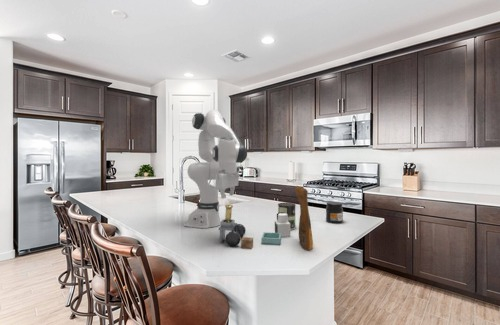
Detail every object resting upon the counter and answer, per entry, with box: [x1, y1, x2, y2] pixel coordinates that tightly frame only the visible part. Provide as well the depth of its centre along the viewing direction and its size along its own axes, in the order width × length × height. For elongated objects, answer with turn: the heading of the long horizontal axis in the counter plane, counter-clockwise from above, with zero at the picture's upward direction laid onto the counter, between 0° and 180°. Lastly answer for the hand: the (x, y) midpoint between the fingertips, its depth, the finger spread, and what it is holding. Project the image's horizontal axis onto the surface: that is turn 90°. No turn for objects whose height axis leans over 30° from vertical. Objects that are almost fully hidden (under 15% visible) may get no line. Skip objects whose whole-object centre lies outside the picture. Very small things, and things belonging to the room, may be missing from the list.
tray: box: [261, 231, 282, 246], centre depth 125 cm, size 9×9×3 cm
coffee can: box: [277, 202, 296, 231], centre depth 149 cm, size 10×10×14 cm
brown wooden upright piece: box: [294, 185, 314, 251], centre depth 120 cm, size 7×19×28 cm, turn 177°
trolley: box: [218, 218, 246, 248], centre depth 126 cm, size 11×15×10 cm
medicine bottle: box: [274, 212, 291, 238], centre depth 135 cm, size 7×7×12 cm
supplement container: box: [325, 201, 344, 224], centre depth 161 cm, size 10×10×12 cm
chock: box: [240, 236, 254, 250], centre depth 118 cm, size 5×4×4 cm
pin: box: [224, 204, 234, 222], centre depth 127 cm, size 4×4×10 cm
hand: (227, 196), depth 126 cm, fingers open, 8 cm apart
